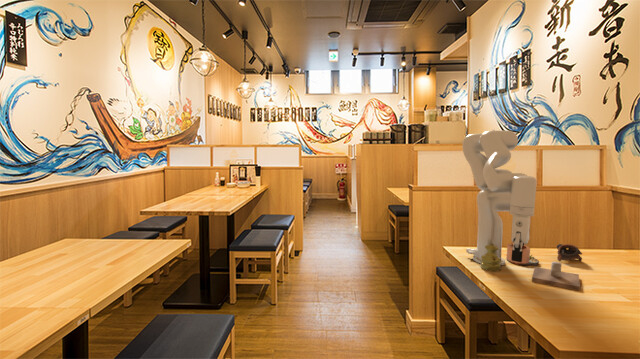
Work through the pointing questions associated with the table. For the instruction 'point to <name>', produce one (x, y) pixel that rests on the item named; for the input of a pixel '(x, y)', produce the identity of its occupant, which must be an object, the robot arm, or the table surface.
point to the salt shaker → (491, 259)
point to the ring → (524, 256)
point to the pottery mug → (568, 252)
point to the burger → (531, 262)
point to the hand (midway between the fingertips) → (517, 257)
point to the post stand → (556, 277)
